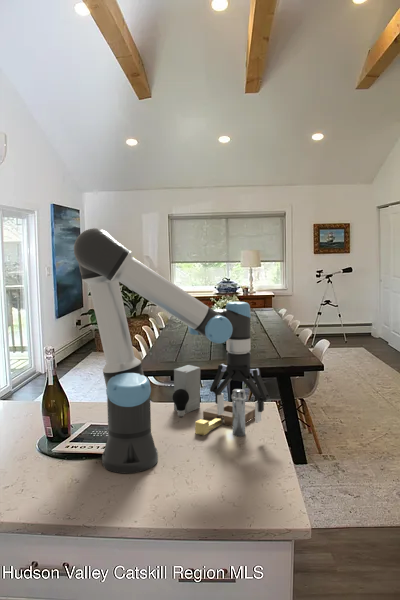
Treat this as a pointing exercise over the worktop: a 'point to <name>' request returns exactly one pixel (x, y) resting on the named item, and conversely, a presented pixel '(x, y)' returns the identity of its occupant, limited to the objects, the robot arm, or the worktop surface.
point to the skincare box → (188, 385)
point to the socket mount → (227, 413)
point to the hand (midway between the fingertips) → (239, 417)
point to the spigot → (238, 411)
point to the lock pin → (206, 426)
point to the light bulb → (180, 400)
